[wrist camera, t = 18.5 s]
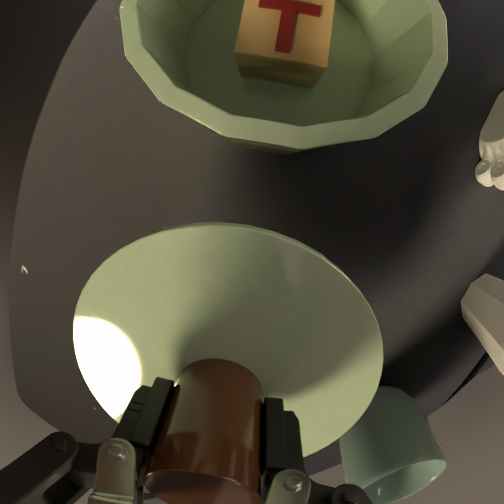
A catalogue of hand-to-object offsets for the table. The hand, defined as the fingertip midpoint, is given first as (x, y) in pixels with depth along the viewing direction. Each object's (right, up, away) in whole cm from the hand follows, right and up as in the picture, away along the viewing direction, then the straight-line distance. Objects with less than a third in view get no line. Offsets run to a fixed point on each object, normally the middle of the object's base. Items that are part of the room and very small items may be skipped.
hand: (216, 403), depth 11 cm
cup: (+13, -8, +13) cm, 19 cm away
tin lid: (0, 0, +1) cm, 1 cm away
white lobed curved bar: (+21, +17, +5) cm, 28 cm away
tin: (+3, +19, +4) cm, 20 cm away
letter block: (+3, +19, +4) cm, 19 cm away
